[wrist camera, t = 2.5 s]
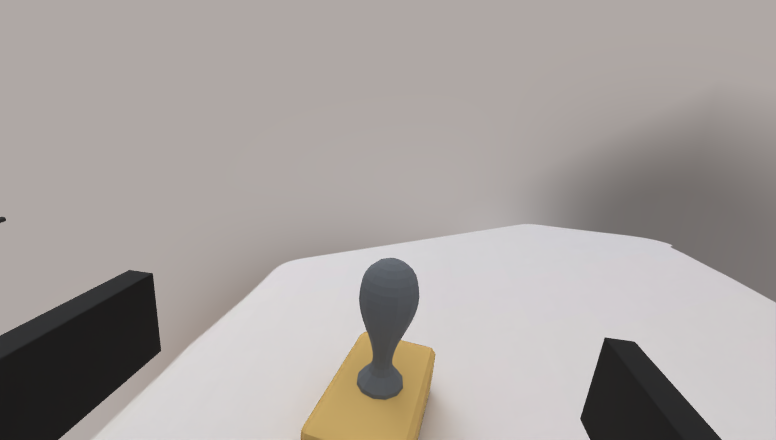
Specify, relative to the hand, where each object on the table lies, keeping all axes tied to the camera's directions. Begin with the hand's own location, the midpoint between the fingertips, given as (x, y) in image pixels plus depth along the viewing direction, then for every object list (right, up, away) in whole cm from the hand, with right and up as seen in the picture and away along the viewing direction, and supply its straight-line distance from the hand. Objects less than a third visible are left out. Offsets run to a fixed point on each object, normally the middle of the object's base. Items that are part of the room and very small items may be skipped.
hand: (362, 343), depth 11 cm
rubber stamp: (0, -10, +13) cm, 17 cm away
